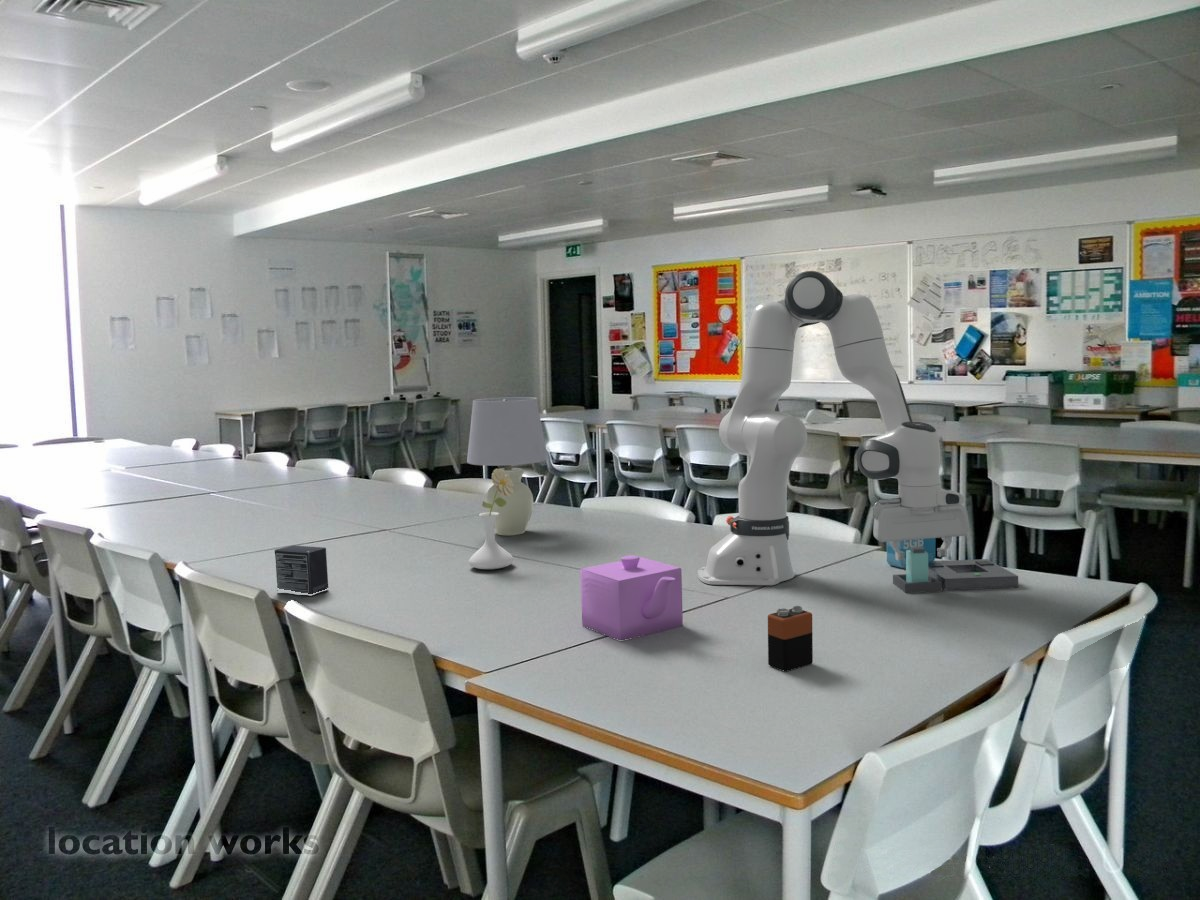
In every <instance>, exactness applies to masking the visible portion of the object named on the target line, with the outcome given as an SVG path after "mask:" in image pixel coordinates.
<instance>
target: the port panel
mask: <svg viewBox="0 0 1200 900" xmlns="http://www.w3.org/2000/svg"><path fill="white" fill-rule="evenodd" d="M928 573H929V574H930V575H932V576H933V577H935V578H936V579H938V580H939V581H941V582H942V590H944V591H953V590H954V591H955V590H958V589H959V590H977V589H978V590H981V588H982V589H984V590H985V588H986V589H1006V588H1005V587H1013V588H1018V587H1019V575H1017V574H1015V573H1013V572H1011V571H1010V570H1008V569H1006V568H1004V567H1002V566H1000V565H999V564H997V563H995V562H993V561H991V560H989V559H985V558H984V559H955V560H953V559H952V560H934V561H928ZM959 590H958V591H959Z"/></svg>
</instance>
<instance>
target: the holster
mask: <svg viewBox="0 0 1200 900" xmlns="http://www.w3.org/2000/svg"><path fill="white" fill-rule="evenodd" d="M892 584H893V585H894V586H895V587H897V588H898V589H899V590H900V591H902V592H904V593H905V594H907V593H909V594H911V593H933V592H934V593H939V592H943V588H942V582H941V581H939V580H938V579H936V578H935V577H933V576H932V575H930V574H929V573H928V582H912V583H907V582H906V573H903V574H900V573H899V574H892Z"/></svg>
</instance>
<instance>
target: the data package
mask: <svg viewBox="0 0 1200 900" xmlns="http://www.w3.org/2000/svg"><path fill="white" fill-rule="evenodd" d="M936 539H937V538H929V539H916V540H903V541H899V546H897V547H898V549H899V550H900V551H903V552H904V553H905V556H904V557H905V560H900V561H898V560H896V558H895V551H894V550H893V548H892V546H891V545H890V541H889V542H886V562H887V565H889V566H892V567H896V568H900V569H905V570H906V550H910V547H922V548H923V549H925V552H927V553H928V561H936V560H935V559H936Z"/></svg>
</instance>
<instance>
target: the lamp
mask: <svg viewBox="0 0 1200 900" xmlns="http://www.w3.org/2000/svg"><path fill="white" fill-rule="evenodd" d="M538 404H539V403H538V398H537V397H533V396H531V397H530V396H528V397H527V396H524V397H523V396H516V397H514V396H513V397H492V398H491V397H490V398H479V399H478V398H477V399H474V400H472V408H471V417H470V418H471V419H470V427H469V428H470V430H469V438H468V449H467V458H466V462H467V464H469V465H473V466H485V467H486V466H491V467H493V466H497V467H501V466H504V467H501V468H497V469H498V471H499V470H500V469H502V470H503V471H504V472H505V475H509V476H510V480H512V483H513V484H514V487H513V489H514V491H513V492H514V493H513V494H512V493H510V494H511V497H509V496H508V497H507V496H503V495H500V494H499V492H498V491H497V494H496V498H495V500H496V499H497V498H498V497H500V498H502V499H504V500H505V501H506V505H504V506H503V507H499V506H498V505H497V504H496V503H495V502H494V505H493V508H492V511H491V512H497V513H499V515H498V516H497V518H496V521H495V528H494V531H495V533H496V534H497V535H498V536H507V537H509V536H511V537H512V536H519V535H523V534H525V533H526V529H527V527H528V525H529V523H530V520H531V517H532V513H533V508H534V495H533V493H532V490H531V489H530V487H529V486H528V485H526V484H525V483H524V482H522V478H523V474H524V472H525V471H524V469H523V468H521V467H512V466H517V465H528V464H529V465H530V464H536V463H541V462H542V463H543V462H545V461H547V460H548V459H549V457H548V451H547V446H546V441H545V435H544V430H543V425H542V420H541V414H540V409H539V405H538ZM494 470H495V469H493V470H492V473H494ZM495 493H496V488H494V484H493V485H492V486H490V488H489V489H488V490H487V493H486V495H485V502H486V503H488V504H493V501H494V496H495ZM490 510H491V508H486V511H487V512H490ZM496 534H495V535H496Z"/></svg>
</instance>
